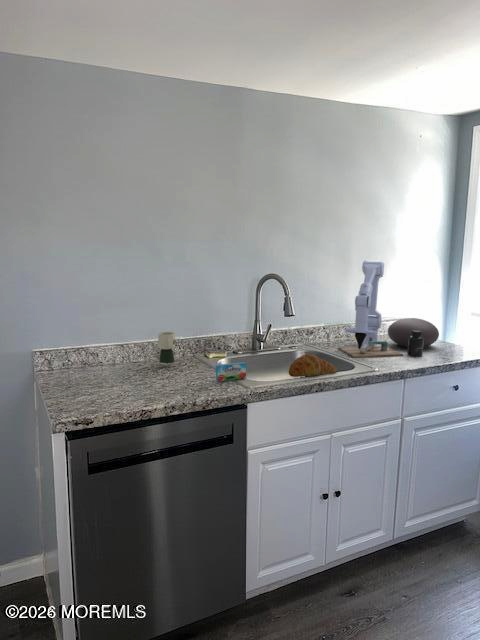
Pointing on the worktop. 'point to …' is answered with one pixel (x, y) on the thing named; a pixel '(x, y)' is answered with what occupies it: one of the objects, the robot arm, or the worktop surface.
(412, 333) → the supplement bottle
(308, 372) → the pastry
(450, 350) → the worktop surface
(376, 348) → the board
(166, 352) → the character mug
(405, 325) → the smooth stone
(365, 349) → the link
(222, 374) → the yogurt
